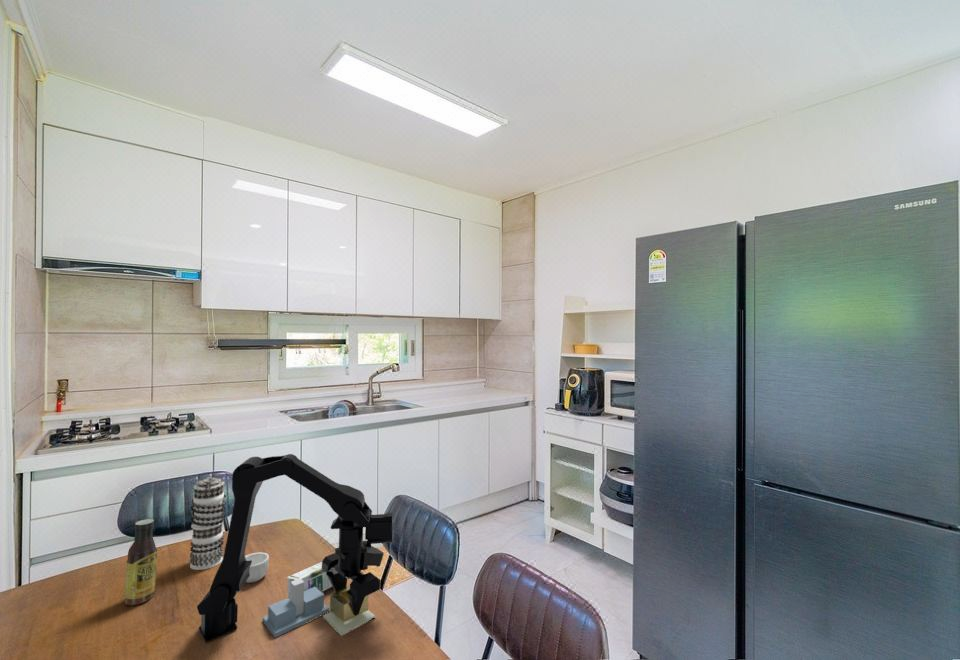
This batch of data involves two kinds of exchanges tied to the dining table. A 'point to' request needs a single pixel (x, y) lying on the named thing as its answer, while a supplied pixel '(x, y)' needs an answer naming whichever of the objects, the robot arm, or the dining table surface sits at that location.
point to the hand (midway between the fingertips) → (349, 608)
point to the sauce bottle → (141, 565)
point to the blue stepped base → (295, 609)
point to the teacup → (257, 566)
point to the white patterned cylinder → (207, 523)
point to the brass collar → (344, 605)
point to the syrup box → (311, 578)
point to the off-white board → (350, 624)
